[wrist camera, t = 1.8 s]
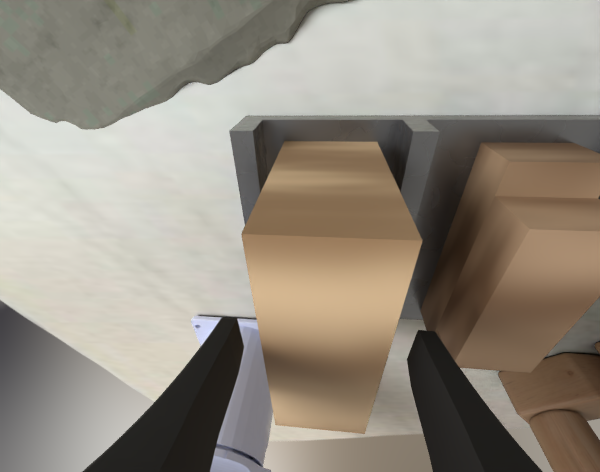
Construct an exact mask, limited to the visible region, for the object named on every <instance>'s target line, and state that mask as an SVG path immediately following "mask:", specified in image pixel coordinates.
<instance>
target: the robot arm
mask: <svg viewBox="0 0 600 472" xmlns="http://www.w3.org/2000/svg"><path fill="white" fill-rule="evenodd" d="M191 323H192V325H193V328H194V330H195V333H196V335H197V338H198V340H199V343H200V345H201V346H200V348H199V350H198V351H197V352H196V354H195V355H194V356H193V357H192V359H191V360H190V361H189V363H188V364H187V365H186V366H185V368H184V369H183V370H182V371H181V373H180V374H179V375H178V376H177V377H176V378H175V380H174V381H173V382H172V383H171V384H170V385H169V387H168V388H167V389H166V390H165V391H164V392H163V394H162V395H161V396H160V397H159V398H158V399H157V400H156V401H155V402H154V404H153V405H152V406H151V407H150V408H149V409H148V410H147V411H146V412H145V413H144V414H143V415H142V416H141V417H140V418H139V419H138V420H137V421H136V422H135V423H134V424H133V425H132V426H131V427H130V428H129V429H128V430H127V431H126V432H125V433H124V434H123V435H122V436H121V437H120V438H119V439H118V440H117V441H116V442H115V443H114V444H113V445H112V446H111V447H109V449H107V450H106V451H105V452H104V453H103V454H102V455H101V456H100V457H98V458H97V459H96V460H95V461H94V462H93V463H92V464H91V465H89V466H88V467H87V468H86V469H85V470H84V471H83V472H271V470H269V469H265V468H263V463H264V457H265V452H266V449H267V446H268V441H269V434H270V428H271V422H272V415H273V408H272V402H271V397H270V391H269V385H268V380H267V374H266V369H265V363H264V358H263V352H262V346H261V341H260V335H259V330H258V324H257V320H253V319H238V318H228V317H207V316H194V317H193V318H192V320H191ZM407 362H408V369H409V376H410V382H411V387H412V391H413V395H414V399H415V403H416V407H417V411H418V414H419V418H420V422H421V426H422V429H423V433H424V437H425V441H426V444H427V448H428V452H429V455H430V460H431V465H432V469H433V472H542V471H541V469H540V468H539V467H538V466H537V465H536V464H535V463H534V462H533V461H532V460H531V458H530V457H529V456H528V455H527V454H526V453H525V451H524V450H523V449H522V448H521V447H520V446H519V445H518V443H517V442H516V441H515V440H514V438H513V437H512V436H511V435H510V434H509V432H508V431H507V430H506V429H505V428H504V426H503V425H502V424H501V423H500V421H499V420H498V419H497V418H496V416H495V415H494V414H493V412H492V411H491V410H490V409H489V407H488V406H487V405H486V403H485V402H484V401H483V399H482V398H481V397H480V395H479V394H478V393H477V391H476V390H475V389H474V387H473V386H472V385H471V383H470V382H469V380H468V379H467V378H466V376H465V375H464V373H463V372H462V371H461V369H460V368H459V366H458V365H457V363H456V362H455V360H454V359H453V357H452V356H451V354H450V353H449V351H448V350H447V348H446V347H445V345H444V344H443V342H442V341H441V339H440V338H439V336H438V335H437V333H436V332H435V331H424V330H418V332H417V335H416V337H415V340H414V342H413V345H412V348H411V350H410V353H409V356H408V358H407Z"/></svg>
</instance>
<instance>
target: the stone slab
mask: <svg viewBox="0 0 600 472" xmlns="http://www.w3.org/2000/svg"><path fill="white" fill-rule="evenodd" d="M345 1H348V0H0V89H1V90H2V91H4V92H5V93H6V94H7V95H9V96H10V97H11V98H12V99H14V100H15V101H16V102H17V103H19V104H20V105H21V106H22V107H24V108H25V109H26V110H27V111H29V112H30V113H31V114H33V115H36V116H38V117H40V118H43V119H46V120H49V121H52V122H55V123H57V122H59V121H67V122H70V123H72V124H74V125H76V126H78V127H79V128H81V129H99V128H104V127H107V126H109V125H111V124H113V123H115V122H117V121H118V120H120V119H122V118H124V117H127V116H130V115H132V114H134V113H136V112H139V111H141V110H143V109H145V108H149V107H151V106H154V105H157V104H160V103H163V102H165V101H167V100H169V99H170V98H172V97H173V96H174V95H175V94H176V93H177V92H178V91H179V90H180V89H181V88H182V87H183V86H184V85H186V84H187V83H191V82H199V83H203V84H207V85H211V84H214V83H217V82H219V81H220V80H222V79H223V78H224V77H225V76H227V75H228V74H229V73H231V72H232V71H233V70H235V69H237V68H239V67H243V66H247V65H249V64H251V63H254V62H255V61H256V60H257V59H258V58H259V57H260V56H261V55H262V54H263V52H265V51H266V50H267V49H269V48H270V47H272V46H273V45H275V44H280V43H288V42H289V41H290V40H291V38H292V37H293V35H294V34H295V32H296V30H297V29H298V27H299V25H300V23H301V21H302V20H303V18H304V16H305V14H306V13H307V12H308V11H309V10H311V9H313V8H314V7H316V6H319V5H322V4H325V3H335V2H345Z"/></svg>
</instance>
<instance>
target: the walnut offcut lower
mask: <svg viewBox="0 0 600 472" xmlns="http://www.w3.org/2000/svg"><path fill="white" fill-rule="evenodd" d="M495 196H509V197H554V198H599V196H600V154H599V153H597V152H595V151H592V150H590V149H588V148H585V147H583V146H580V145H578V144H576V143H499V142H481V145H480V147H479V150H478V153H477V156H476V158H475V161H474V164H473V167H472V170H471V172H470V175H469V178H468V181H467V183H466V186H465V189H464V192H463V194H462V197H461V200H460V203H459V205H458V208H457V211H456V214H455V216H454V219H453V222H452V225H451V228H450V230H449V233H448V236H447V239H446V241H445V244H444V247H443V250H442V252H441V255H440V258H439V261H438V263H437V266H436V269H435V272H434V274H433V277H432V280H431V283H430V286H429V288H428V291H427V294H426V297H425V299H424V302H423V305H422V308H421V310H420V311H421V314H422V317H423V320H424V323H425V326H426V329H427V331H435V332H436V333H437V335H438V336H439V338H440V339H441V337H440V335H439V332H438V329H437V326H438V324H439V322H440V319H441V317H442V315H443V313H444V310H445V308H446V306H447V303H448V301H449V299H450V297H451V294H452V292H453V290H454V288H455V285H456V283H457V281H458V278H459V276H460V274H461V272H462V269H463V267H464V265H465V263H466V260H467V258H468V256H469V253H470V251H471V249H472V247H473V244H474V242H475V240H476V238H477V235H478V233H479V231H480V229H481V226H482V224H483V222H484V219H485V217H486V215H487V213H488V210H489V208H490V206H491V204H492V201H493V199H494V197H495ZM441 341H442V340H441Z"/></svg>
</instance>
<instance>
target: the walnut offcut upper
mask: <svg viewBox="0 0 600 472" xmlns="http://www.w3.org/2000/svg"><path fill="white" fill-rule="evenodd" d="M599 297H600V199H598V198H554V197H509V196H495V197H494V199H493V201H492V204H491V206H490V208H489V210H488V213H487V215H486V217H485V219H484V222H483V224H482V226H481V229H480V231H479V233H478V235H477V238H476V240H475V242H474V244H473V247H472V249H471V251H470V253H469V256H468V258H467V260H466V263H465V265H464V267H463V269H462V272H461V274H460V276H459V278H458V281H457V283H456V285H455V288H454V290H453V292H452V294H451V297H450V299H449V301H448V303H447V306H446V308H445V310H444V313H443V315H442V317H441V319H440V322H439V324H438V326H437V329H438V332H439V335H440V337H441V340H442V342H443V344H444V345H445V347H446V348H447V350H448V351H449V353H450V354H451V356H452V357H453V359H454V360H455V362H456V363H457V365H458V366H459V368H473V369H486V370H499V371H513V372H526V373H531V372H532V371H533V370H534V368H535V367H536V366H537V365H538V364H539V363H540V362H541V361H542V360H543V358H544V357H545V356H546V355H547V354H548V353H549V352H550V351H551V350H552V349H553V347H554V346H555V345H556V344H557V343H558V342H559V341H560V340H561V339H562V338H563V336H564V335H565V334H566V333H567V332H568V331H569V330H570V329H571V328H572V327H573V325H574V324H575V323H576V322H577V321H578V320H579V319H580V318H581V317H582V315H583V314H584V313H585V312H586V311H587V310H588V309H589V308H590V307H591V306H592V304H593V303H594V302H595V301H596V300H597V299H598V298H599Z"/></svg>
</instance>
